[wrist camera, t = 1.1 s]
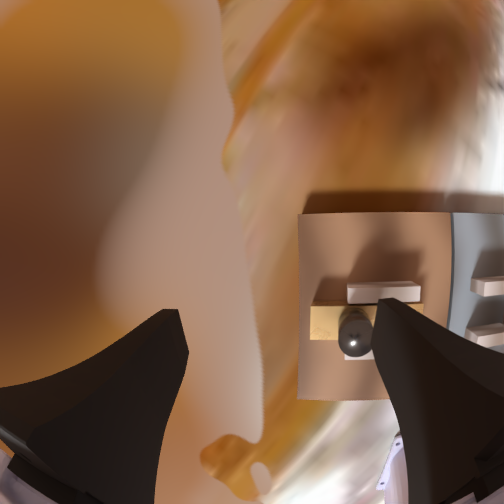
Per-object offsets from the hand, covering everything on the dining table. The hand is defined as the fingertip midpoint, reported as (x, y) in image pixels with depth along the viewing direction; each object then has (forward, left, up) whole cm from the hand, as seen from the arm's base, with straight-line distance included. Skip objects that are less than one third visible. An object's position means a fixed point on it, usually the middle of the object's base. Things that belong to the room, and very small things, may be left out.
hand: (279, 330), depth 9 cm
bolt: (-3, -4, -11) cm, 12 cm away
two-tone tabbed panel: (-3, -9, -13) cm, 16 cm away
